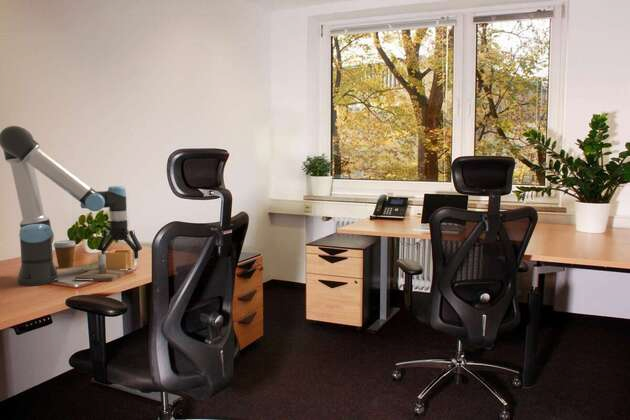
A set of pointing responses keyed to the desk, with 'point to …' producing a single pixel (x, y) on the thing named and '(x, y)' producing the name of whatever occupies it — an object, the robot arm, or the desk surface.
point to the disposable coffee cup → (65, 253)
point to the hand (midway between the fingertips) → (120, 265)
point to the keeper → (103, 272)
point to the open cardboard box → (119, 259)
